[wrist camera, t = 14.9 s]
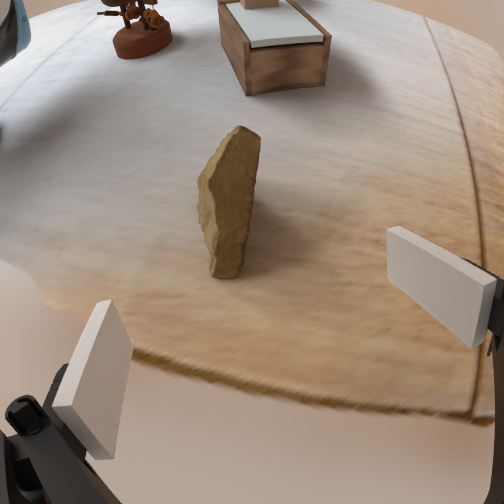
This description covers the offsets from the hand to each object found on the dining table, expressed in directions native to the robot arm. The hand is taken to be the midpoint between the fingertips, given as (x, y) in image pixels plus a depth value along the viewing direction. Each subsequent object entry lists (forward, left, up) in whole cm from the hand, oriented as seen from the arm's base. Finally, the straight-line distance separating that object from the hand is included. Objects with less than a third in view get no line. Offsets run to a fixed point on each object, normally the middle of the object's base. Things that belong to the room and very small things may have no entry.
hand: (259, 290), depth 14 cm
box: (+12, +37, -12) cm, 41 cm away
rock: (-1, +11, -13) cm, 17 cm away
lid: (+12, +37, -5) cm, 39 cm away
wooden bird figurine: (-7, +53, -13) cm, 55 cm away
